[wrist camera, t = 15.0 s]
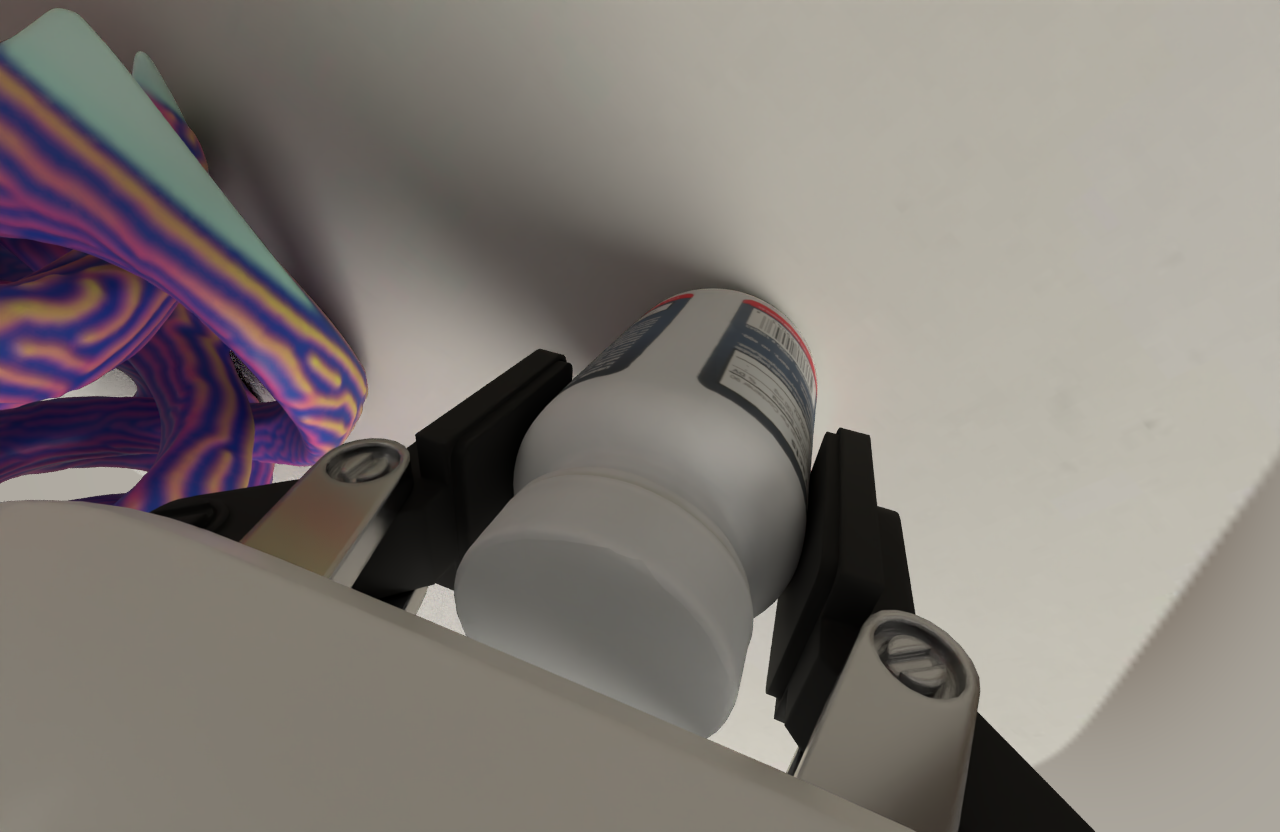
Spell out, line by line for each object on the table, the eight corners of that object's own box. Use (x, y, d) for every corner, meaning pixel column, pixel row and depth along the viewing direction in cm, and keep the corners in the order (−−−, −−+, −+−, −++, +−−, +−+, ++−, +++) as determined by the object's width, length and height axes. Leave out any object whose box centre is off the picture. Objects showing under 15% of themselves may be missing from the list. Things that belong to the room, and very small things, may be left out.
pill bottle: (627, 443, 16) (442, 705, 9) (626, 275, 13) (363, 442, 6) (801, 478, 14) (758, 832, 7) (838, 296, 12) (832, 550, 4)
